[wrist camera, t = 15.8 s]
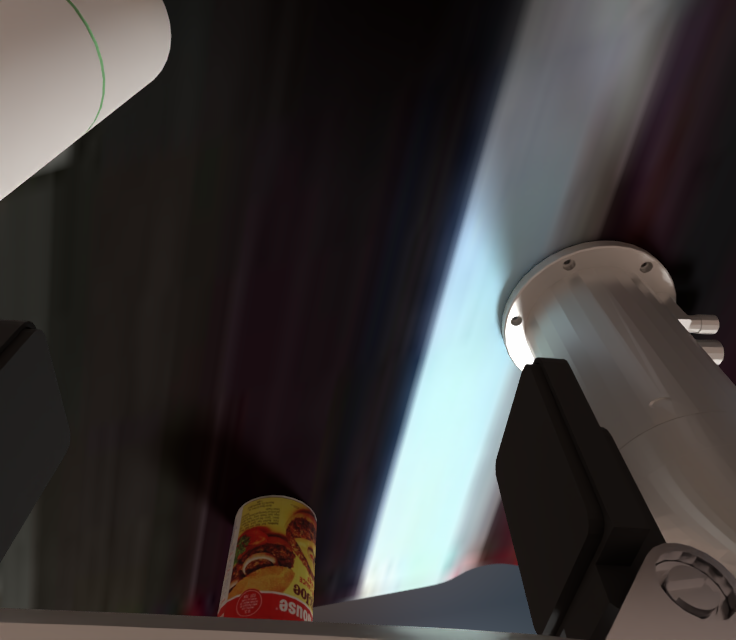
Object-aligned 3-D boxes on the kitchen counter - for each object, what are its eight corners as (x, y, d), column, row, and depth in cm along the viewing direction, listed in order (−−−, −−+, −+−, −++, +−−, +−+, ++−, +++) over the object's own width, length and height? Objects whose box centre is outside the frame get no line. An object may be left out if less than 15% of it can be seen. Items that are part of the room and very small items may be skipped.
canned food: (320, 542, 58) (316, 668, 48) (243, 548, 58) (223, 674, 48) (311, 491, 54) (305, 618, 44) (228, 497, 54) (202, 625, 44)
